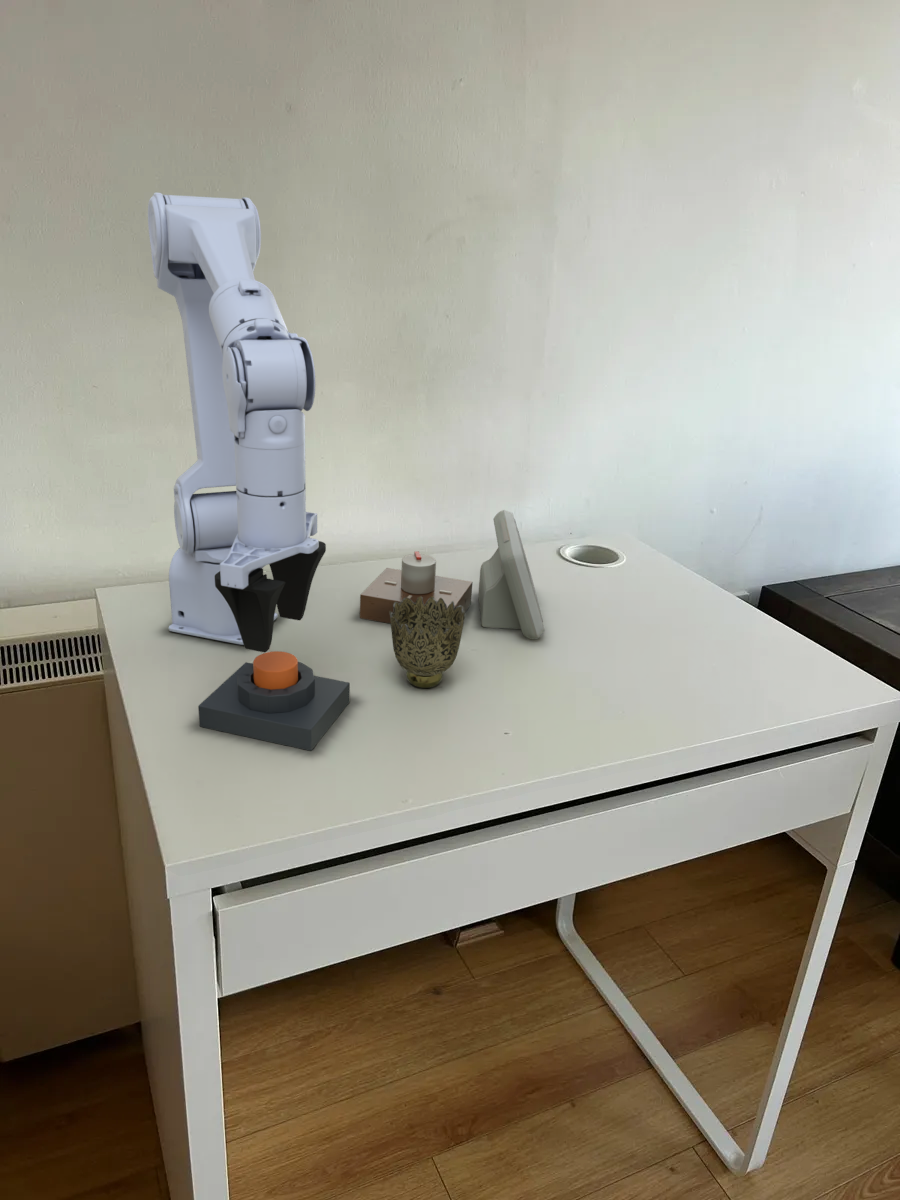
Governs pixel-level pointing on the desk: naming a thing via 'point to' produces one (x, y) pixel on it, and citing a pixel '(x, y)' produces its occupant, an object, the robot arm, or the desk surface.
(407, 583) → the dial
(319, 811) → the desk surface
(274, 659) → the orange button cap
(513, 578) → the digital clock
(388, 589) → the dial panel
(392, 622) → the cup
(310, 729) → the button base
